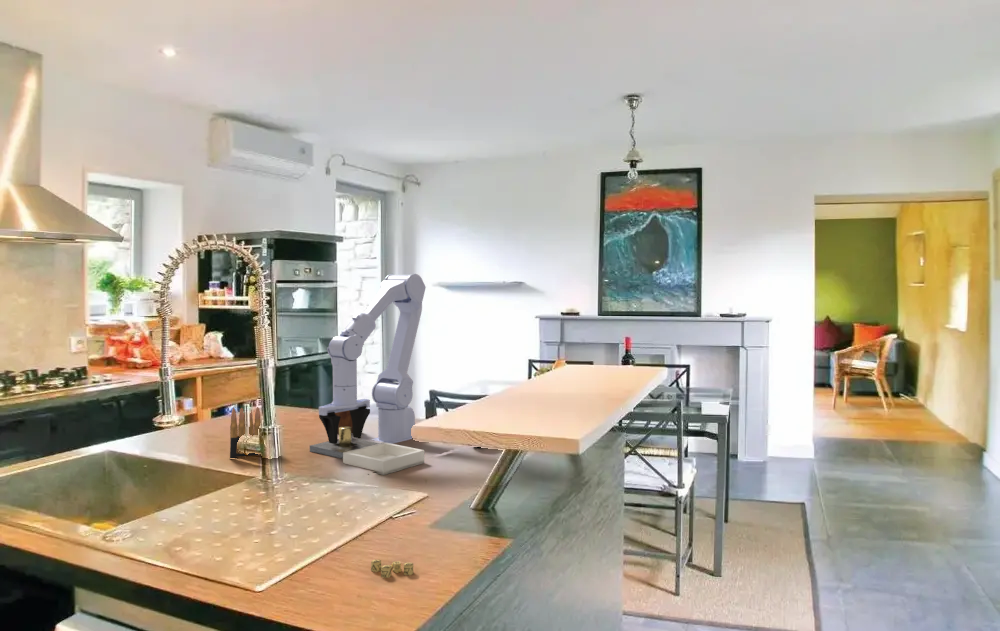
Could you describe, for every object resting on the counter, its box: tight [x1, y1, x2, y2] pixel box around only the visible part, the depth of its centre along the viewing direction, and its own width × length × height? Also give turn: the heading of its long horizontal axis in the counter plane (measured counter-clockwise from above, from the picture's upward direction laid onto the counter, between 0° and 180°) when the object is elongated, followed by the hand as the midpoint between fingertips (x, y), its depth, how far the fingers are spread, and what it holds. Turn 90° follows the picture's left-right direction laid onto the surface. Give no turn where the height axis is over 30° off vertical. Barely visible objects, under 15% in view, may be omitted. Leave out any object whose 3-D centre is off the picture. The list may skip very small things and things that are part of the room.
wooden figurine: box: [335, 410, 353, 434], centre depth 194 cm, size 7×6×15 cm
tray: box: [342, 442, 425, 476], centre depth 163 cm, size 13×13×3 cm
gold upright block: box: [338, 427, 353, 447], centre depth 174 cm, size 3×3×6 cm
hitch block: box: [309, 437, 381, 460], centre depth 174 cm, size 12×12×2 cm
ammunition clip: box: [229, 406, 277, 459], centre depth 169 cm, size 11×2×12 cm, turn 107°
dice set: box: [370, 559, 414, 579], centre depth 103 cm, size 5×5×2 cm
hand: (345, 440), depth 174 cm, fingers open, 7 cm apart
